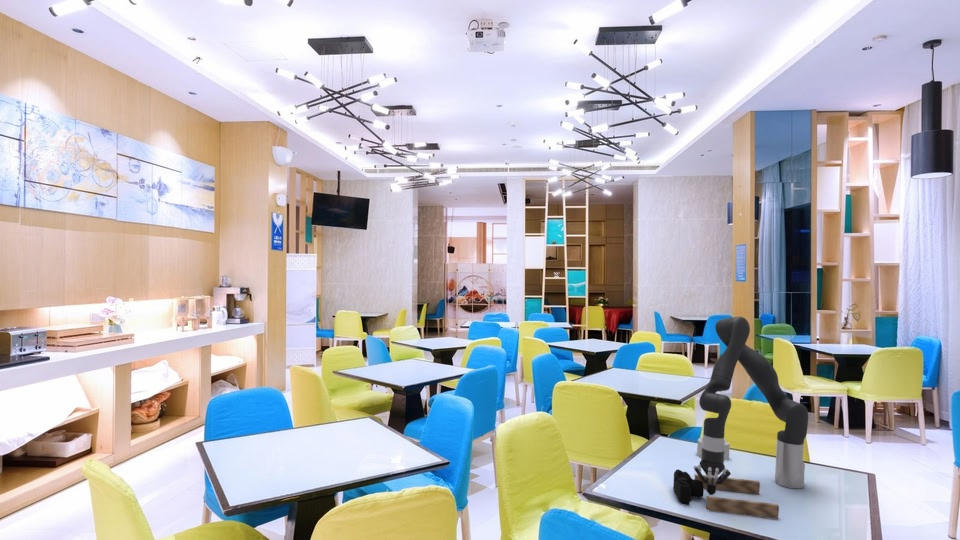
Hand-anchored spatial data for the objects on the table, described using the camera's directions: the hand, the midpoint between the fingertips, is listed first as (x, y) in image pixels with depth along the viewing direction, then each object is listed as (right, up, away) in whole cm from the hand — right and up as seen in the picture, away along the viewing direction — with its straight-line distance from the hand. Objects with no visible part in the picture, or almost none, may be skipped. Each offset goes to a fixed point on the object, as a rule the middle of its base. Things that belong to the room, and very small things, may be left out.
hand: (710, 494), depth 193 cm
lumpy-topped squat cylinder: (+20, -2, +44) cm, 48 cm away
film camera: (-8, -2, +1) cm, 8 cm away
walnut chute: (+8, -2, -1) cm, 8 cm away
